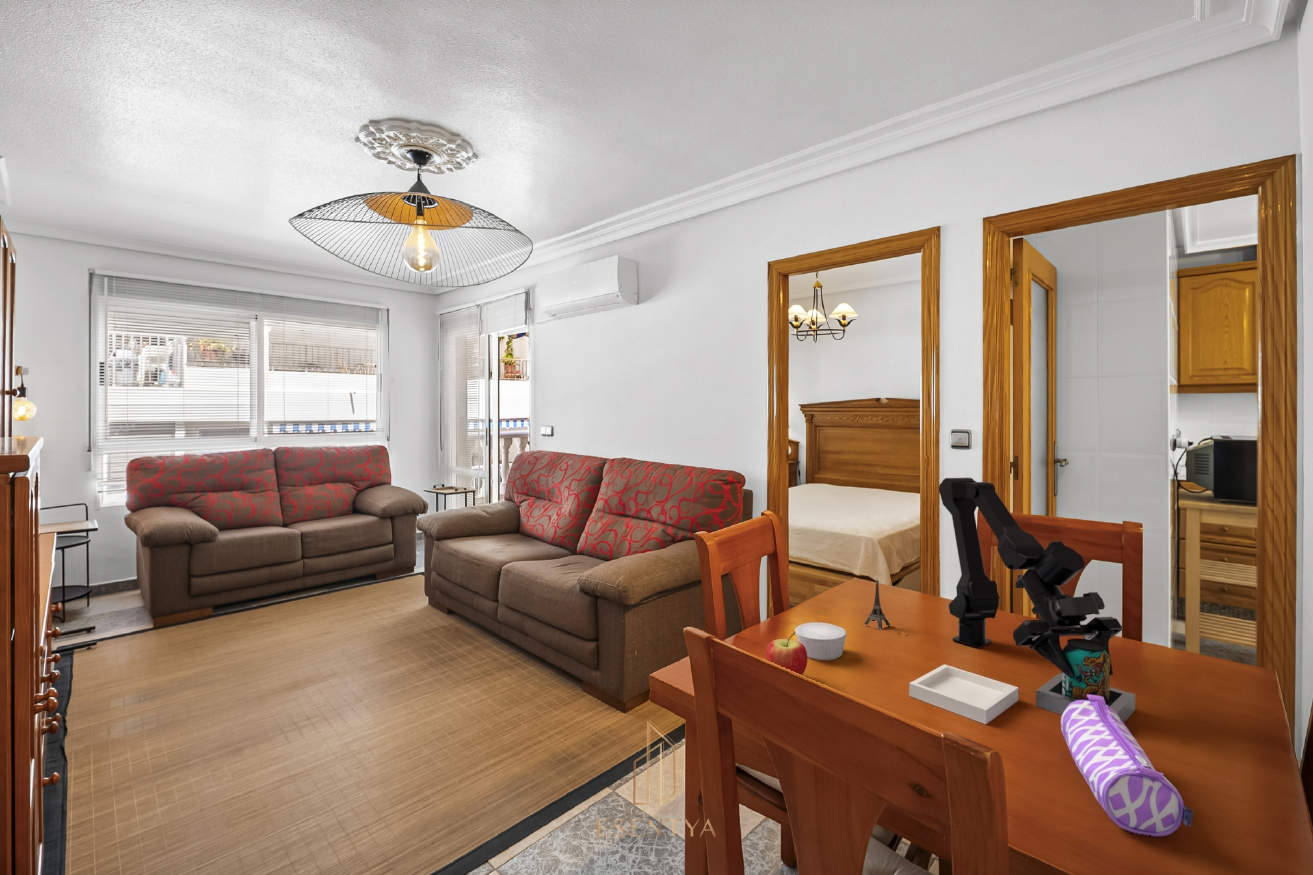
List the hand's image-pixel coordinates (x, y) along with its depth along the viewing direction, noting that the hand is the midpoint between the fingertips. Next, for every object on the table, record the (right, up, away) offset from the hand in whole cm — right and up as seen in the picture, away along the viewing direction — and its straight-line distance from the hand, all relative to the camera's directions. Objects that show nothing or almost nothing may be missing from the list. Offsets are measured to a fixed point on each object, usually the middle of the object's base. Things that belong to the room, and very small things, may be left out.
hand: (1091, 675), depth 109 cm
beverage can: (0, -7, +2) cm, 7 cm away
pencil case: (-13, -8, -23) cm, 28 cm away
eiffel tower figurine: (-21, -6, +47) cm, 52 cm away
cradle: (-20, -7, +6) cm, 22 cm away
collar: (0, -7, +2) cm, 7 cm away
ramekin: (-41, -6, +29) cm, 51 cm away
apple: (-52, -7, +15) cm, 54 cm away
